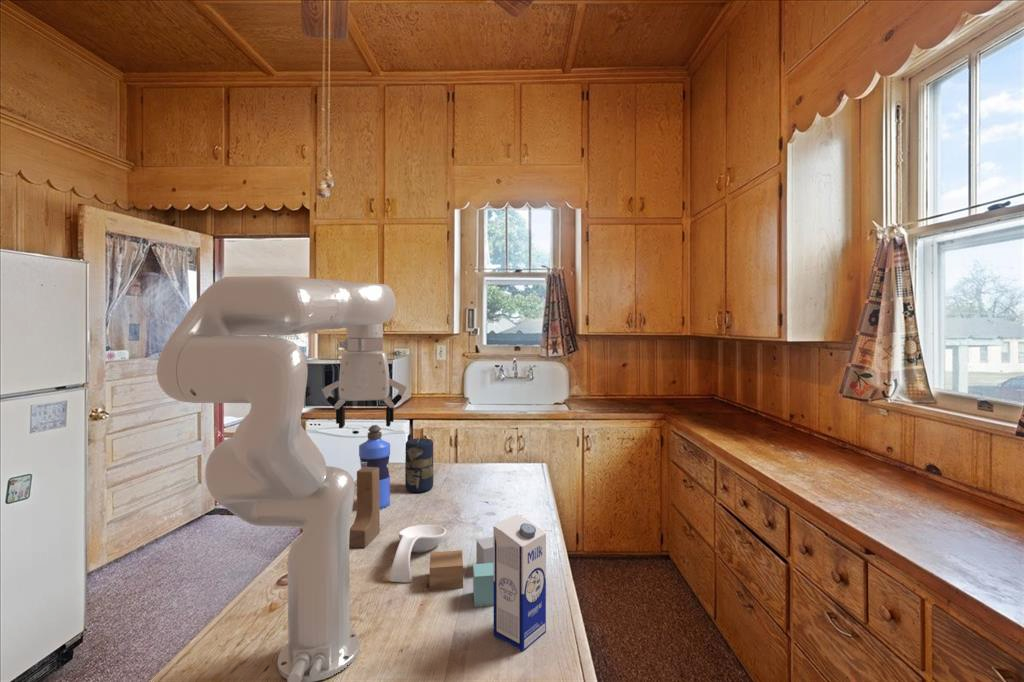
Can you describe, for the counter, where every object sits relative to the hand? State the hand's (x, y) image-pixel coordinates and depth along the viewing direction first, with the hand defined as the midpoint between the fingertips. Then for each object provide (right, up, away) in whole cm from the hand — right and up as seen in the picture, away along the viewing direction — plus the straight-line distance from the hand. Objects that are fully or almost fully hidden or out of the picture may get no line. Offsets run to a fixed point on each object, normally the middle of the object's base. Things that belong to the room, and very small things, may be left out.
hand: (365, 426), depth 100 cm
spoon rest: (+8, -34, +12) cm, 37 cm away
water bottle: (-11, -33, +46) cm, 58 cm away
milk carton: (+33, -34, -17) cm, 50 cm away
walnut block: (+17, -34, +1) cm, 38 cm away
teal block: (+26, -34, -5) cm, 43 cm away
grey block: (+27, -34, +7) cm, 44 cm away
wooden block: (-7, -34, +21) cm, 40 cm away
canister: (0, -33, +60) cm, 69 cm away
